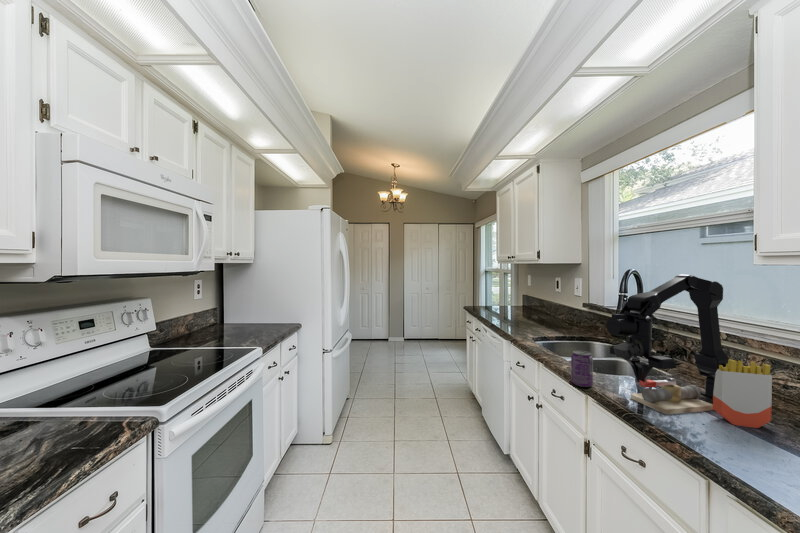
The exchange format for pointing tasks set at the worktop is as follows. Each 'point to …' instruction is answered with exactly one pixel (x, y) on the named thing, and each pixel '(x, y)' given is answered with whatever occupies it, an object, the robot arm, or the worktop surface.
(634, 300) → the robot arm
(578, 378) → the beverage can
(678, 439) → the worktop surface
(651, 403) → the valve board
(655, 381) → the valve lever
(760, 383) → the french fries container
